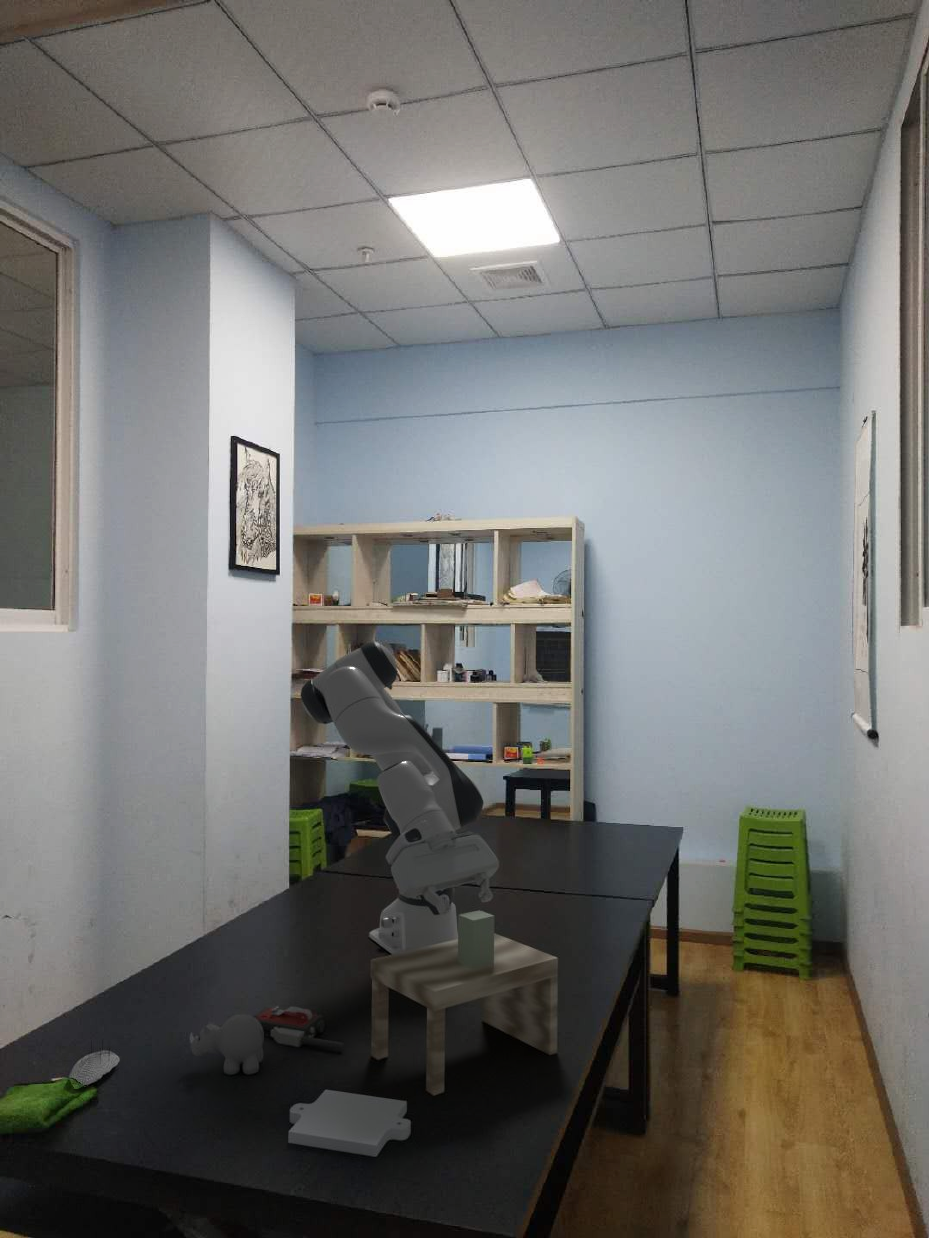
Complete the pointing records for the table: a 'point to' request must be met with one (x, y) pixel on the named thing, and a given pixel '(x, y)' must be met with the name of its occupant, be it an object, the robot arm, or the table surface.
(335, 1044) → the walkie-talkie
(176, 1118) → the table surface
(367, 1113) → the mounting plate
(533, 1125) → the table surface
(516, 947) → the wood grain stool
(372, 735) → the robot arm
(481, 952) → the sage wooden block
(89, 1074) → the pincushion
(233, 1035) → the chubby cartoon animal
